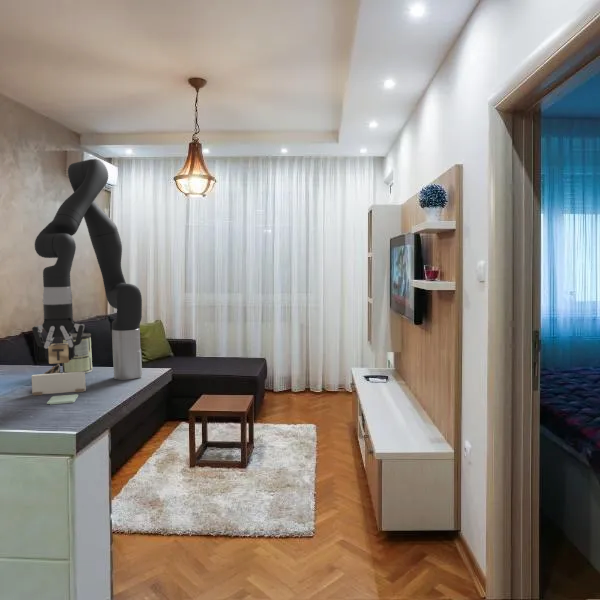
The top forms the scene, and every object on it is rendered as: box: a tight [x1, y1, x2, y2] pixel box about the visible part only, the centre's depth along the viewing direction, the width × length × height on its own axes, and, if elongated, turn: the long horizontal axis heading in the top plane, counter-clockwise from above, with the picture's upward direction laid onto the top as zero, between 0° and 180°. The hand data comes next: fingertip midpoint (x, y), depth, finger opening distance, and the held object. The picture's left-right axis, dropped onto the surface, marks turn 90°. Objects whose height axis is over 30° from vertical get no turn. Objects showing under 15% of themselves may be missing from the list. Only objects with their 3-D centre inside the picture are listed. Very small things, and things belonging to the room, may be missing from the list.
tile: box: [46, 394, 79, 405], centre depth 138 cm, size 7×7×1 cm
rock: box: [43, 363, 61, 374], centre depth 153 cm, size 9×7×10 cm
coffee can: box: [60, 332, 93, 374], centre depth 175 cm, size 10×10×14 cm
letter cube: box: [48, 342, 71, 365], centre depth 137 cm, size 5×5×5 cm
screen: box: [31, 372, 87, 397], centre depth 147 cm, size 15×3×6 cm, turn 105°
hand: (60, 359), depth 137 cm, fingers closed on letter cube, 5 cm apart
